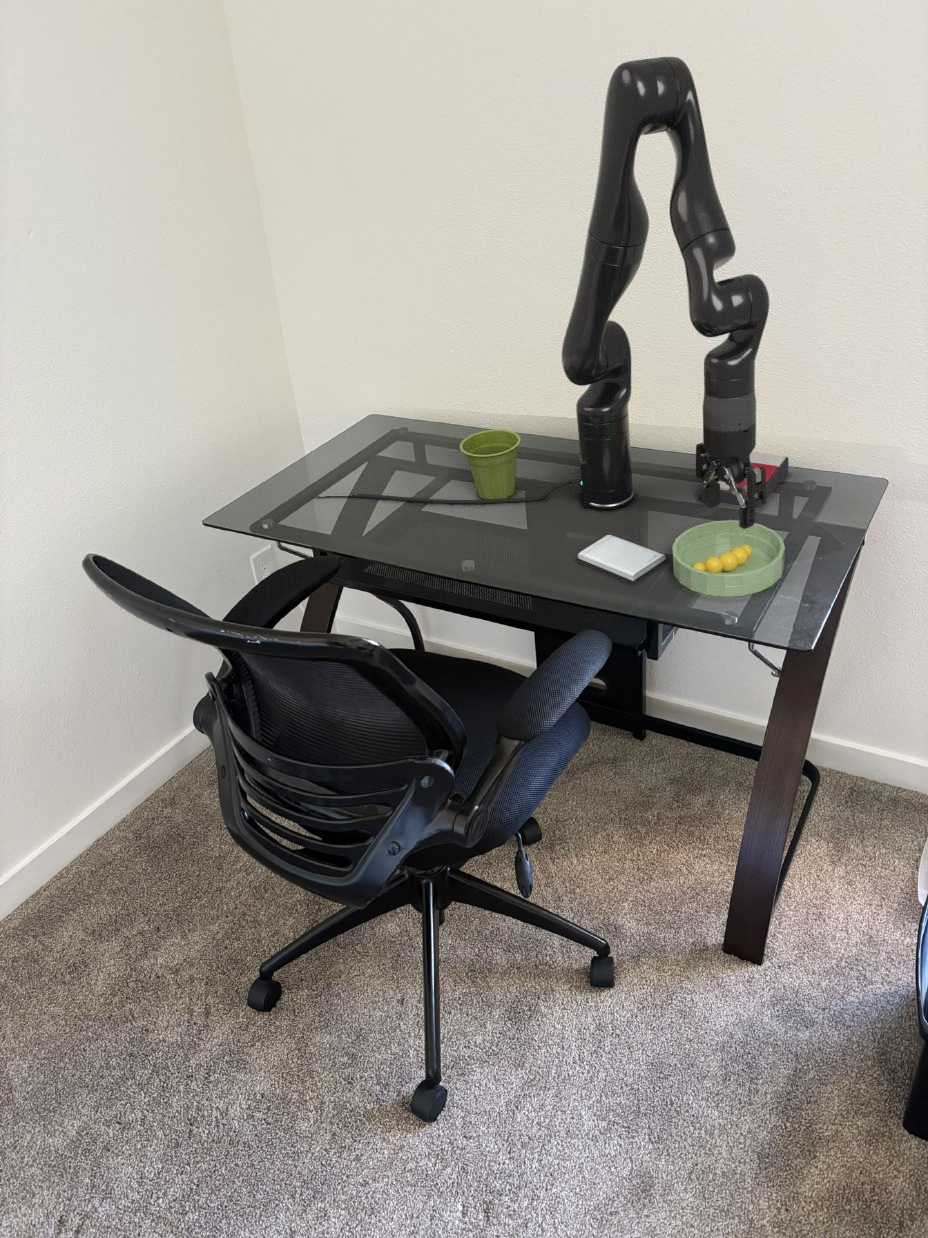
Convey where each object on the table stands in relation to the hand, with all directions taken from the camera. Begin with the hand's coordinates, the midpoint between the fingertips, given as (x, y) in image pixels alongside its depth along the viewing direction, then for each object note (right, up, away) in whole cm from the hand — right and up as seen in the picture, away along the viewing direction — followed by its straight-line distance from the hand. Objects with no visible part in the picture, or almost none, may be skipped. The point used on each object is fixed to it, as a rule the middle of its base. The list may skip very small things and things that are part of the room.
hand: (729, 516), depth 147 cm
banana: (+1, -8, +6) cm, 10 cm away
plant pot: (-35, +9, +42) cm, 55 cm away
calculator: (+11, +8, +28) cm, 31 cm away
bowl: (+2, -8, +7) cm, 11 cm away
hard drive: (-15, -6, +14) cm, 21 cm away
